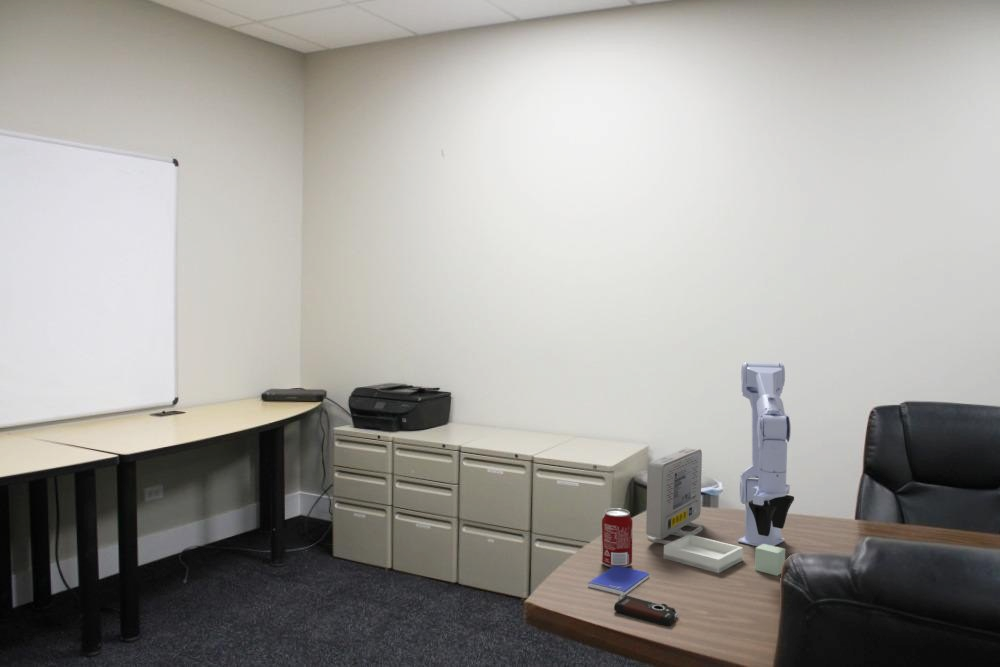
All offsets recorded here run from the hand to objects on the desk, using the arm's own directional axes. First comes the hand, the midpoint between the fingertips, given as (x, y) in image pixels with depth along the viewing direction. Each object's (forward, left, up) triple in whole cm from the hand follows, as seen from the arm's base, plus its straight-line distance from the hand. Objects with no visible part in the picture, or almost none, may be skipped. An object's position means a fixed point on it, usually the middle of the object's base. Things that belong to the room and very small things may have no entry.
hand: (770, 531), depth 168 cm
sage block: (0, 0, -9) cm, 9 cm away
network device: (-9, -29, -9) cm, 31 cm away
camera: (+39, -7, -9) cm, 41 cm away
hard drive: (+29, -20, -10) cm, 36 cm away
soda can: (+21, -26, -9) cm, 35 cm away
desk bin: (+4, -14, -9) cm, 17 cm away
